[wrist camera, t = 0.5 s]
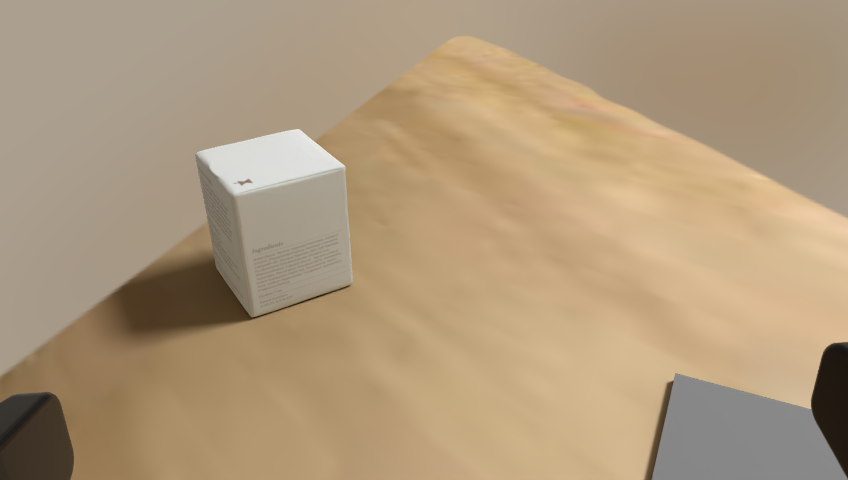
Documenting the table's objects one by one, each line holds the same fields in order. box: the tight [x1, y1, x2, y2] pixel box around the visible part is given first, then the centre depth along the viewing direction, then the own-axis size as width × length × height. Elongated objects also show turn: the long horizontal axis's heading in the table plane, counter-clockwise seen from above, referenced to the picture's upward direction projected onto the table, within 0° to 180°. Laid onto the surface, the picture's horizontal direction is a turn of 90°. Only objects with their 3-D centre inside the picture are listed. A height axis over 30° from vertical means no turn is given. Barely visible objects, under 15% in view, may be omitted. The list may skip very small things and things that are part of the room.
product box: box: [196, 129, 353, 317], centre depth 38 cm, size 6×6×7 cm
